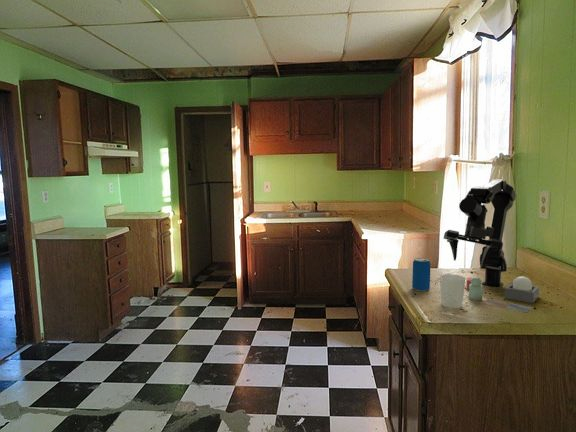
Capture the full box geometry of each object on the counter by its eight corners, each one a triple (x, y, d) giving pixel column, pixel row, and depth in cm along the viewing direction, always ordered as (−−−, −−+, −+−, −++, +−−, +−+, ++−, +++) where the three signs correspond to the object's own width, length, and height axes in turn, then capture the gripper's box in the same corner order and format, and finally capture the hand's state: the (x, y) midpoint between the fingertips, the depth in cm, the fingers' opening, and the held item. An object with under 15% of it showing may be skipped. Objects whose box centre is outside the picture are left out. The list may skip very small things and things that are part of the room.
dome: (514, 289, 153) (515, 273, 152) (533, 292, 149) (534, 276, 148) (510, 293, 149) (511, 276, 148) (529, 296, 145) (530, 279, 144)
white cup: (461, 311, 137) (462, 281, 136) (436, 306, 141) (437, 278, 140) (465, 304, 144) (466, 276, 142) (442, 300, 148) (442, 273, 146)
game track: (468, 296, 152) (468, 295, 152) (532, 308, 139) (532, 307, 139) (462, 300, 147) (462, 299, 147) (527, 313, 134) (527, 312, 134)
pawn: (470, 296, 151) (471, 274, 150) (483, 298, 148) (484, 276, 147) (466, 299, 148) (467, 277, 147) (479, 302, 145) (480, 279, 144)
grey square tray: (510, 292, 155) (511, 282, 155) (538, 297, 150) (539, 287, 149) (504, 298, 149) (505, 287, 148) (532, 304, 143) (533, 292, 142)
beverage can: (430, 292, 157) (431, 261, 155) (412, 291, 158) (413, 261, 157) (428, 287, 163) (429, 257, 162) (411, 287, 164) (412, 257, 163)
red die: (466, 287, 163) (466, 276, 162) (477, 288, 161) (478, 277, 161) (466, 290, 159) (467, 279, 159) (478, 291, 158) (478, 279, 157)
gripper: (454, 211, 142) (445, 255, 140) (511, 222, 139) (504, 268, 136) (447, 217, 153) (439, 258, 151) (500, 227, 149) (493, 270, 147)
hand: (468, 263), depth 146 cm, fingers open, 9 cm apart
